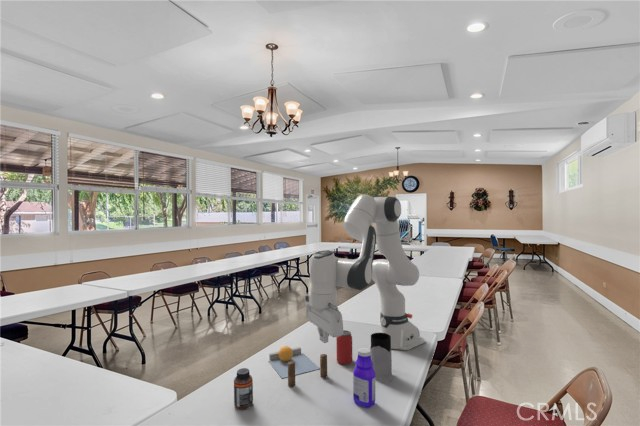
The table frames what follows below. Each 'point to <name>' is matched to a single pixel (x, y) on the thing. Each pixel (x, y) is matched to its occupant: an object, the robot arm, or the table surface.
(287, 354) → the ball
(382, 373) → the glass holder
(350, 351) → the beer can
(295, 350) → the stopper wall
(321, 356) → the right post
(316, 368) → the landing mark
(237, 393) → the supplement bottle
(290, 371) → the left post
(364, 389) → the bottle
